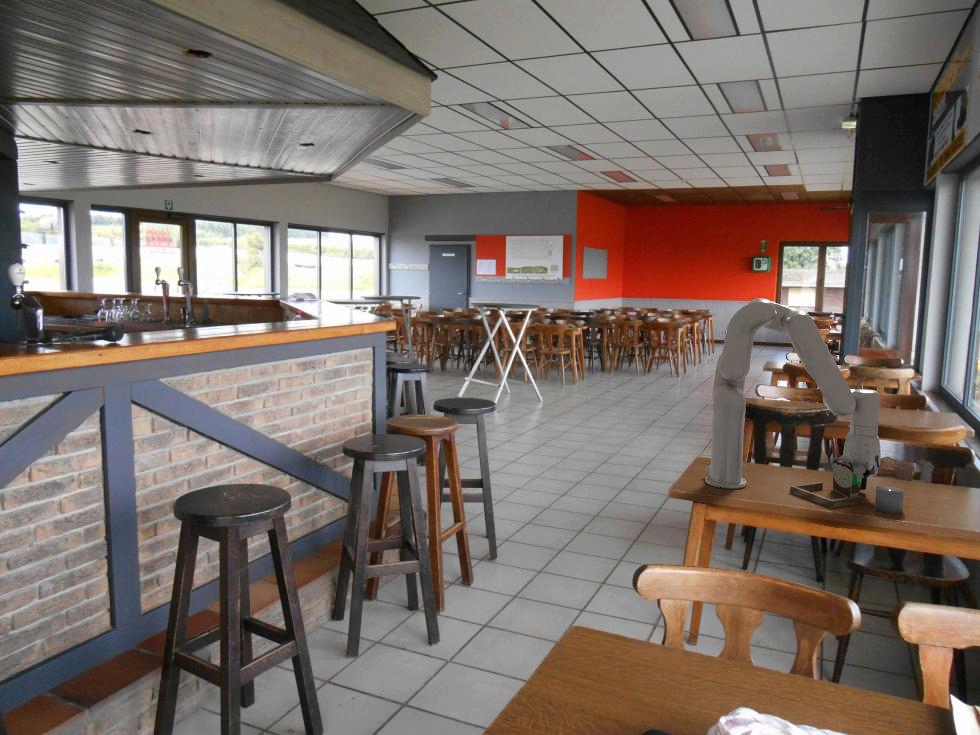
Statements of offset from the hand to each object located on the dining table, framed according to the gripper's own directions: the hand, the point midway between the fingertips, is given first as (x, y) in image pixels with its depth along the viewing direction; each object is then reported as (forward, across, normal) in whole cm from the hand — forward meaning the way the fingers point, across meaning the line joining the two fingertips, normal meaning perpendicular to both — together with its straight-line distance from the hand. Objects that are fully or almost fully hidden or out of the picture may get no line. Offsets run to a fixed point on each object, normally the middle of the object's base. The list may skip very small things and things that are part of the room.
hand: (860, 489), depth 222 cm
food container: (+1, 0, -4) cm, 4 cm away
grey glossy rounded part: (+1, +15, -6) cm, 16 cm away
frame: (+1, 0, -14) cm, 14 cm away
